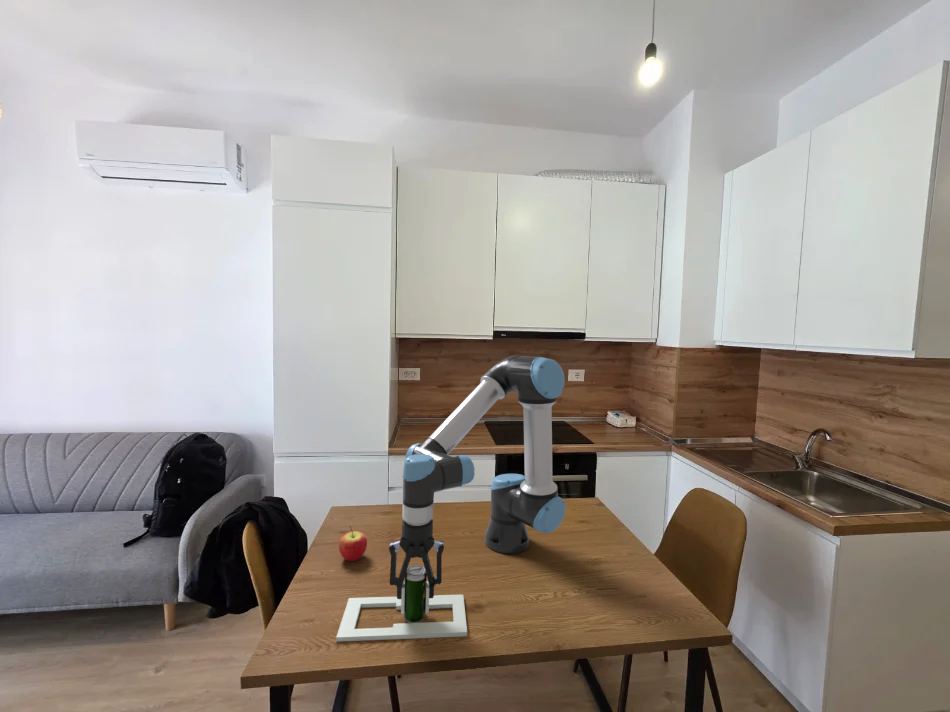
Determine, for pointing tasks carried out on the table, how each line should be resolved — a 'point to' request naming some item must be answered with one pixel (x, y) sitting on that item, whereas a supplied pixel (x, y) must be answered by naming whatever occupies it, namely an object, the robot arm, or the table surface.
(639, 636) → the table surface
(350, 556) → the apple
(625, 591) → the table surface
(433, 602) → the keyhole board
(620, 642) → the table surface
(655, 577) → the table surface
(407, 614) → the beer can
